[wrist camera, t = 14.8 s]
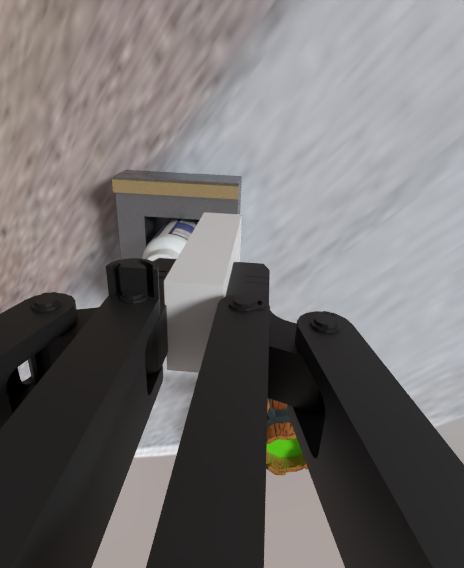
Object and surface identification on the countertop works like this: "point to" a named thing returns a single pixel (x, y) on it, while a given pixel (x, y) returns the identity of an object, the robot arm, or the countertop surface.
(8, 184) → the countertop surface
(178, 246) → the pill bottle
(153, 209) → the jig
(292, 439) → the mug
